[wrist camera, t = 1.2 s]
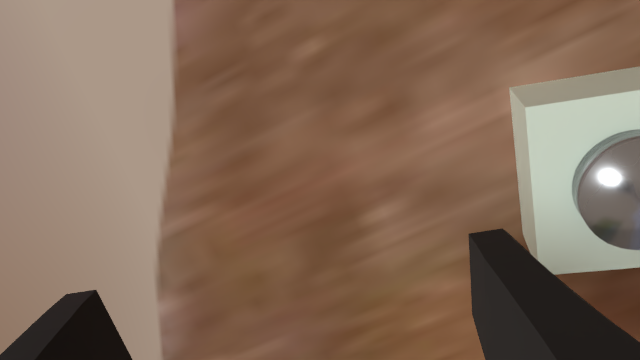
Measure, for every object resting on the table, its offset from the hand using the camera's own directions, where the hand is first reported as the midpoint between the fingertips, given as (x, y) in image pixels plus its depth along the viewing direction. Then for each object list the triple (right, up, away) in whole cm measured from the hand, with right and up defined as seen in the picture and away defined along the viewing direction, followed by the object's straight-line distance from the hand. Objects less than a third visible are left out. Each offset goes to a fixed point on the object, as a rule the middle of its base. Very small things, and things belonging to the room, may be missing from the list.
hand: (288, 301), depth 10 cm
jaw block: (+11, +3, +10) cm, 15 cm away
